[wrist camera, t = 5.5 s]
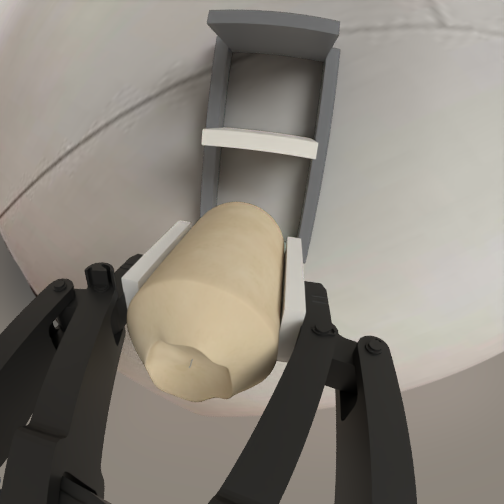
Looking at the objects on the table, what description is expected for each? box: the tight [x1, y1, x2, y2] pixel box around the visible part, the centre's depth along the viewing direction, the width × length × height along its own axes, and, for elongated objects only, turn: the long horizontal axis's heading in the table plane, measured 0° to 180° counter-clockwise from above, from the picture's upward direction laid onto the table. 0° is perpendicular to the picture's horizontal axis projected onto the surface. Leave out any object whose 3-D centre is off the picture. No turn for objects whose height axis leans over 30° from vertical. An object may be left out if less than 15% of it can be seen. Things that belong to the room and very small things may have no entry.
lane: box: [200, 10, 340, 263], centre depth 22 cm, size 22×11×9 cm, turn 174°
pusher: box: [201, 127, 318, 159], centre depth 22 cm, size 1×8×8 cm, turn 84°
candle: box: [127, 202, 284, 402], centre depth 12 cm, size 6×6×10 cm
